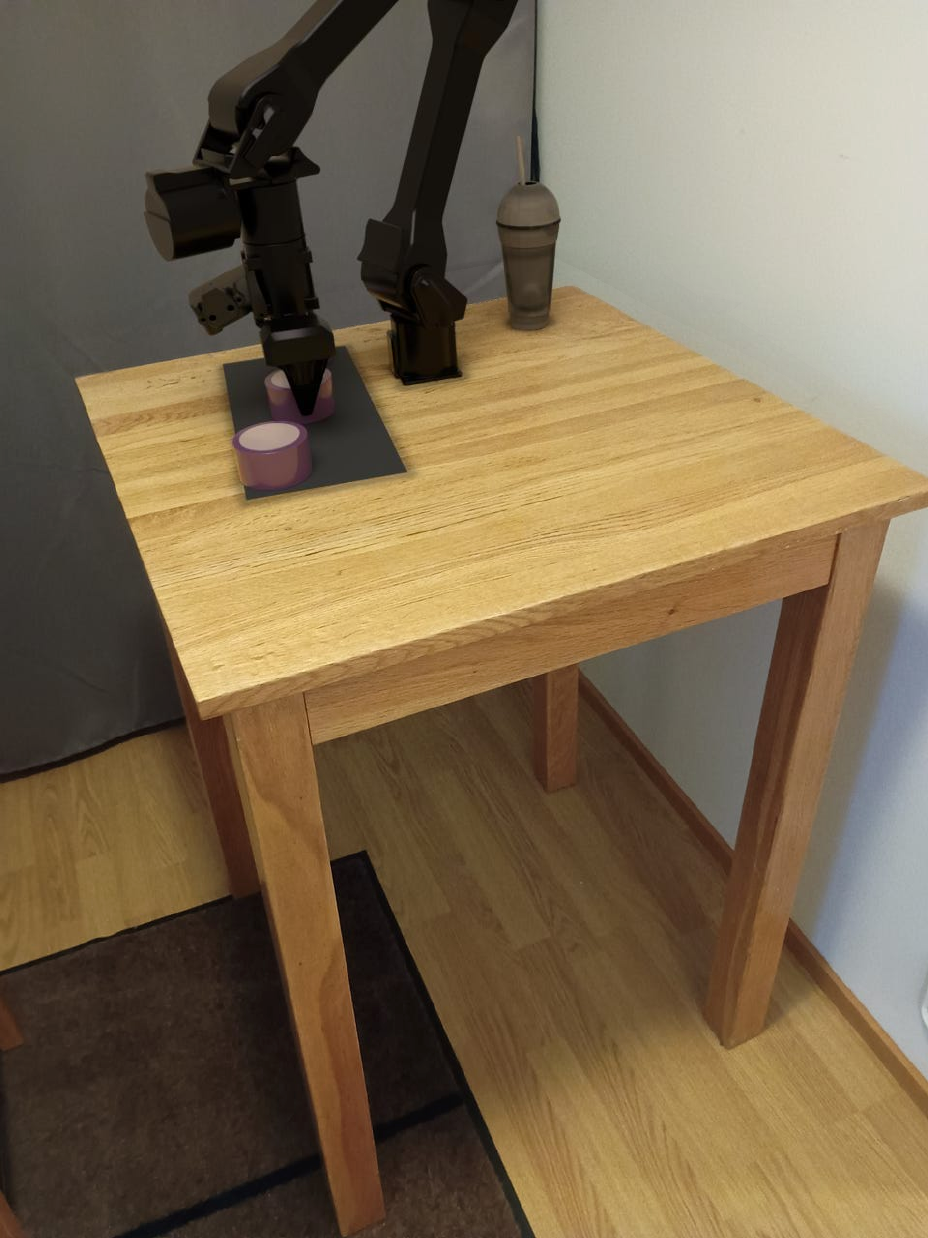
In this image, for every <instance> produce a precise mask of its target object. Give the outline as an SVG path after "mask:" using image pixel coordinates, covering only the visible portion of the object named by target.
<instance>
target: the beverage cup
mask: <svg viewBox="0 0 928 1238" xmlns="http://www.w3.org/2000/svg"><path fill="white" fill-rule="evenodd" d="M515 145H516V155H517V163H518V164H517V165H518V173H519V182H517V183H514V184H513V185H512V186H510V187H509V188H508V190H507V191H505V192H504V195H503V196H502V198H501V199H500V202H499V203H498V204H499V205H498V207H497V212H496V220H495V225H496V226H497V235H498V239H499V242H500V245H501V255H502V263H503V273H504V283H505V291H506V299H507V301H506V302H507V309H508V313H509V319H510V325H511V327H512V328H513V329H515V330H516V329H517V330H521V331H535V330H540V329H544V328H546V327H547V326H548V325H549V322H550V320H549V318H550V313H551V312H550V311H551V305H552V295H553V281H554V271H555V259H556V247H557V246H556V245H557V241H558V236H559V232H560V224H561V221H562V218H561V216H560V207H559V204H558V201H557V199H556V196H555V195H554V194H553V192H552V191H551V190H550V189H549V188H548V187H547V186H546V185H545V184H543V183H542V182H539V181H537V180H526V177H525V169H524V167H525V166H524V158H523V149H522V140H521V135H516V136H515Z"/></svg>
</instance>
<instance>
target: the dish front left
mask: <svg viewBox="0 0 928 1238" xmlns="http://www.w3.org/2000/svg"><path fill="white" fill-rule="evenodd" d="M265 387H266V392H267V398H268V403H269V408H270V413H271V417H272V418H273V419H274V420H275V421H289V422H294V423H298V424H300V425H301V424H309V423H314V422H317V421H320V420H323V419H325V418H327V417H329V416H330V415H332V414H333V413H334V412H335V410H336V403H335V396H334V389H333V383H332V376H331V372H330V371H329V370H328V369H325V373H324V376H323V379H322V382H321V386H320V389H319V393H318V396H317V400H316V403H315V407H314V411H313V413H312V414H311V415H306V416H302V415H301V413H300V411H299V408H298V406H297V403H296V401H295V398H294V396H293V393H292V390H291V388H290V385H289V383H288V380H287V378H286V375H285V373H284V371H282V370H281V369H280V370H277V371H275V372H273V373H271V374H270V375H268V376H267V377H266V379H265Z"/></svg>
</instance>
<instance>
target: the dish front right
mask: <svg viewBox="0 0 928 1238" xmlns="http://www.w3.org/2000/svg"><path fill="white" fill-rule="evenodd" d="M231 446H232V447H231V448H232V451H233V456H234V459H235V466H236V470H237V474H238V478H239V481H240V483H241V484H242V485H243V486H244V485H245V486H246V487H248V488H251V489H255V490H262V491H272V490H280V489H285V488H289V487H292V486H295V485H297V484H300V483H301V482H303V481H305V480H306V479H307V478H309V477H310V475H311V474H312V472H313V463H312V457H311V452H310V446H309V440H308V434H307V430H306V429H305V427H303V426H302V425H300V424H298V423H294V422H289V421H270V422H264V423H259V424H255V425H252V426H249V427H247V428H245V429H243V430H241V431H240V432H238V433H237V434H236V435H235V434H234V436H233V437H232V439H231Z"/></svg>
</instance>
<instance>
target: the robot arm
mask: <svg viewBox="0 0 928 1238" xmlns="http://www.w3.org/2000/svg"><path fill="white" fill-rule="evenodd" d="M399 1H400V0H315V2H314V3H313V4H312V5H311V6H310V7H309V8H308V9H307V10H306V11H305V13H303V15H302V16H301V17H300V18H299V19H298V20H297V21H296V22H295V23H294V25H292V27H291V28H290V29H289V30H288V31H287V32H286V33H285V34H284V36H282V38H280V39H278V41H276V42H275V43H273V44H272V45H270V46H269V47H267V48H265V49H263V50H261V51H258V52H257V53H254V54H253V55H250V56H249V57H247V58H245V59H244V60H243V61H241V62H240V63H238V64H237V65H235V66H234V67H233V68H231V69H230V70H229V71H227V72H226V73H224V74H222V76H221V77H219V78H217V80H215V82H214V84H213V85H212V87H211V88H210V90H209V91H208V92H209V93H208V95H207V106H208V107H207V108H208V109H207V110H208V112H207V114H208V118H207V121H206V124H205V126H204V129H203V132H202V134H201V137H200V141H199V142H198V145H197V148H196V150H195V153H194V154H193V155H194V156H193V158H192V161H191V162H192V165H190V166H185V167H179V168H175V169H153V170H149V171H146V172H145V174H144V178H145V182H146V187H147V188H146V190H145V194H144V207H145V208H144V209H145V211H143V215H144V220H145V224H146V228H147V230H148V233H149V236H150V238H151V241H152V243H153V245H154V248H155V249H156V250H157V252H158V254H159V255H160V257H161V258H162V259H163V260H164V261H166V262H173V261H178V260H183V259H186V258H187V259H188V258H191V257H196V256H200V255H204V254H208V253H212V252H216V251H217V252H218V251H221V250H225V249H230V248H232V247H233V246H234V245H235V241H236V240H238V239H241V243H242V249H241V250H239V252H240V254H239V255H240V259H241V264H240V265H237V266H236V267H234V268H232V269H230V270H227V271H224V272H223V273H221V274H219V275H217V276H215V277H213V278H212V279H210V280H208V281H206V282H205V283H202V284H201V285H199V286H196V287H195V288H194V289H192V290H191V291H190V292H189V293H188V305H189V307H190V308H191V310H192V311H193V313H194V314H195V316H196V318H197V322H198V323H199V325H201V326H202V327H203V329H204V331H205V332H206V333H207V335H208V336H209V337H212V336H215V335H217V334H220V333H221V332H223V330H224V328H226V327H228V326H230V325H232V324H233V323H236V322H237V321H239V320H240V319H243V318H245V317H246V316H248V315H249V314H250V313H253V314H252V315H253V321H254V324H255V326H256V327H257V328H258V329H260V330H259V331H258V336H259V342H260V345H261V351H262V355H263V358H264V359H265V363H266V366H271V367H275V366H276V367H277V368H279V369H281V370H282V371H284V373H285V375H286V378H287V380H288V383H289V385H290V388H291V390H292V393H293V396H294V398H295V401H296V403H297V406H298V408H299V411H300V413H301V415H302V416H306V415H311V414H312V413H313V411H314V407H315V403H316V400H317V396H318V393H319V389H320V386H321V382H322V379H323V376H324V373H325V369H326V366H327V363H328V360H329V358H332V357H334V356H335V355H336V348H335V347H336V341H335V335H334V332H333V330H332V328H331V326H329V325H330V324H329V321H327V320H325V319H324V318H323V317H321V316H320V315H319V314H318V313H316V311H315V310H320V309H321V306H320V300H319V296H318V294H317V292H316V288H315V283H314V275H313V270H312V264H313V263H314V260H313V253H312V249H311V247H310V246H309V242H308V235H307V230H306V223H305V216H304V211H303V203H302V195H301V190H300V183H299V179H301V178H307V177H311V176H317V175H319V174H320V173H321V167H320V165H319V164H317V163H315V162H314V161H312V160H311V158H309V157H307V155H305V154H304V152H303V151H302V149H301V148H300V147H299V146H297V145H295V143H296V142H297V140H298V138H299V137H300V135H301V133H302V132H303V131H304V129H305V127H306V126H307V125H308V123H309V121H310V119H311V118H312V116H313V115H314V112H315V109H316V105H317V101H318V98H319V95H320V92H321V90H322V89H323V87H324V85H325V84H326V83H327V81H328V79H329V78H330V77H331V76H332V75H333V74H334V73H335V71H336V70H337V69H338V68H339V67H340V66H341V65H342V64H343V63H344V62H345V60H346V59H347V58H348V57H349V56H350V55H351V54H352V53H353V52H354V50H355V49H357V47H358V46H359V45H360V44H361V43H362V42H363V41H364V39H365V38H367V36H368V35H369V34H370V33H371V32H372V31H373V30H374V29H375V27H376V26H377V25H378V24H379V23H380V22H381V21H382V19H384V18H385V16H386V15H387V14H388V13H389V12H390V11H392V8H394V6H396V4H397V3H398V2H399ZM519 2H520V0H427V3H426V7H427V8H426V9H427V13H428V19H429V25H430V32H431V37H432V44H431V50H430V54H429V57H428V62H427V66H426V70H425V74H424V78H423V83H422V86H421V91H420V95H419V100H418V103H417V106H416V107H417V108H416V112H415V116H414V121H413V125H412V128H411V133H410V137H409V140H408V145H407V150H406V153H405V157H404V162H403V164H402V169H401V174H400V177H399V182H398V186H397V191H396V195H395V199H394V202H393V205H392V207H391V208H390V210H388V212H387V213H386V215H385V216H384V218H383V219H382V220H378V219H376V218H375V219H374V218H368V220H367V222H366V225H365V229H364V230H365V232H364V240H363V244H362V247H361V250H360V252H359V254H358V255H357V257H356V260H357V261H359V262H361V265H360V280H361V282H362V283H363V285H364V287H365V289H366V291H367V292H368V293H369V294H370V295H371V296H372V297H373V298H375V300H376V301H377V303H378V305H379V306H378V307H379V309H380V310H381V311H382V312H385V313H389V320H390V321H389V323H390V329H387V330H386V332H385V335H386V342H387V351H388V363H389V368H390V370H391V372H392V374H393V375H394V376H396V377H397V378H398V380H399V381H400V383H401V384H402V386H404V387H409V386H416V385H422V384H427V383H433V382H441V381H445V380H452V379H458V378H462V377H463V375H464V374H463V371H462V369H461V368H460V367H459V365H458V364H459V363H458V348H457V346H458V345H457V333H456V322H460V321H462V320H463V319H464V318H465V314H466V311H467V310H466V309H467V304H468V297H467V296H466V295H465V294H463V293H462V292H461V291H460V290H459V289H458V288H456V287H455V285H453V284H452V283H451V282H450V281H449V280H448V279H447V278H446V270H447V264H448V253H449V252H448V248H447V247H448V246H447V242H446V241H447V240H446V235H445V230H444V224H443V223H444V216H445V211H446V207H447V204H448V199H449V197H450V196H449V195H450V192H451V188H452V184H453V180H454V176H455V173H456V170H457V165H458V161H459V158H460V154H461V150H462V146H463V143H464V138H465V135H466V134H465V133H466V131H467V127H468V122H469V119H470V115H471V111H472V107H473V104H474V101H475V96H476V93H477V88H478V84H479V80H480V77H481V73H482V69H483V65H484V63H485V60H486V57H487V56H488V55H489V53H490V52H491V51H492V50H493V48H494V46H495V45H497V42H498V41H499V40H500V39H501V38H502V36H503V35H504V34H505V32H506V31H507V30H508V29H509V26H510V23H511V21H512V19H513V16H514V14H515V12H516V9H517V7H518V4H519ZM233 149H235V152H231V151H232V150H233Z"/></svg>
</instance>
